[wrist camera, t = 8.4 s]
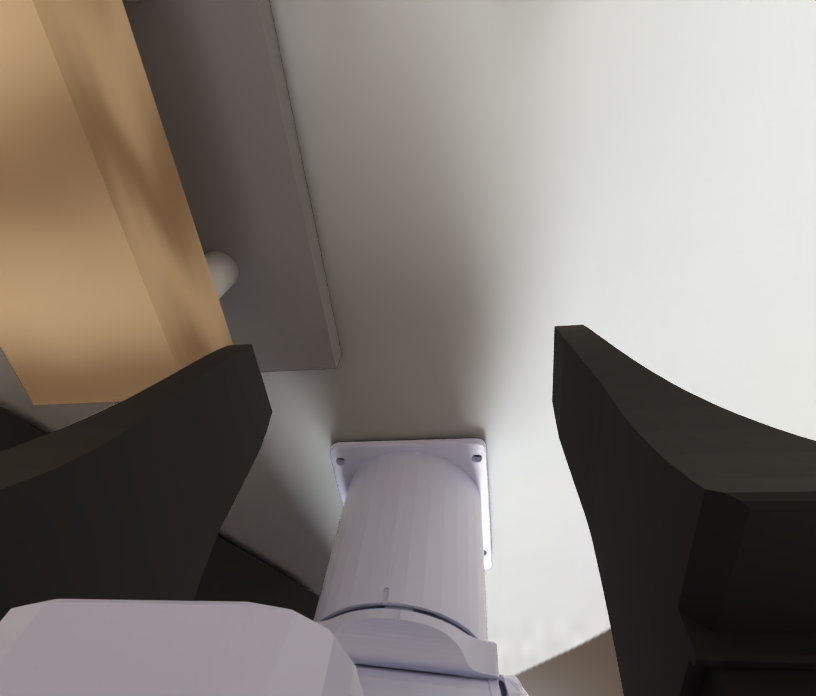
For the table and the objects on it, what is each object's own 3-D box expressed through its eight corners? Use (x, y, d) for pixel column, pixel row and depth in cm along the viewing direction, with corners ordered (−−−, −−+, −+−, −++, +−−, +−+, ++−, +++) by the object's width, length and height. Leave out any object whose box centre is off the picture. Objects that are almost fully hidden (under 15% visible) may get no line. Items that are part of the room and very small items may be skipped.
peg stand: (341, 355, 24) (319, 408, 20) (127, 366, 25) (70, 418, 21) (214, -267, 14) (128, -383, 10) (-121, -188, 15) (-301, -266, 12)
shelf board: (233, 344, 19) (189, 398, 16) (100, 352, 20) (34, 405, 17) (68, -164, 12) (-63, -240, 9) (-124, -122, 13) (-305, -178, 10)
